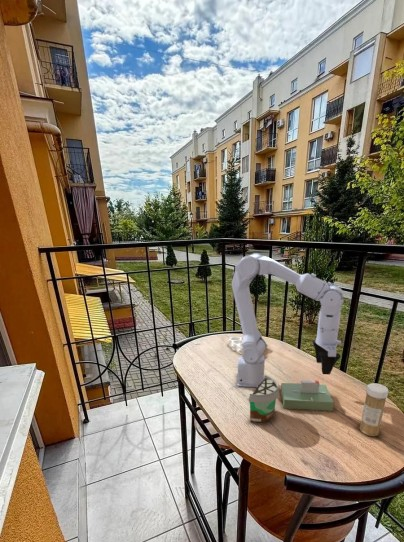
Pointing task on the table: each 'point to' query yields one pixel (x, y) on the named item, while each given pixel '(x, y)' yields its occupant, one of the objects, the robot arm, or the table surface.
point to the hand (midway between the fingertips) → (322, 367)
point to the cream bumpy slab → (237, 344)
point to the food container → (263, 401)
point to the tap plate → (306, 398)
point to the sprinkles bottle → (373, 409)
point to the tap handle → (309, 387)
